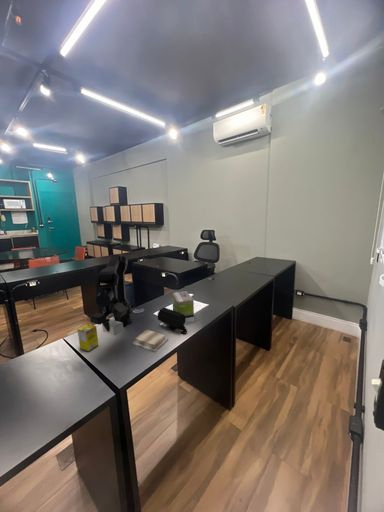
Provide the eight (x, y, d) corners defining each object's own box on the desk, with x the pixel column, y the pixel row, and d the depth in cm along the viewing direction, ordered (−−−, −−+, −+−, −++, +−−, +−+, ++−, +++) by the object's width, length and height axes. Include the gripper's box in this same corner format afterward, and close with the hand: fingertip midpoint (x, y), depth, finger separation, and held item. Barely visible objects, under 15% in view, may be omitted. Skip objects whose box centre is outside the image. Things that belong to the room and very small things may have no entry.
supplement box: (98, 345, 106) (96, 325, 103) (88, 352, 100) (85, 331, 98) (90, 342, 108) (87, 323, 106) (79, 349, 103) (77, 328, 101)
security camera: (181, 337, 112) (181, 319, 110) (157, 326, 123) (156, 310, 121) (190, 331, 117) (189, 314, 115) (165, 321, 128) (165, 306, 126)
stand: (132, 344, 106) (132, 338, 106) (146, 333, 116) (146, 328, 115) (155, 352, 100) (154, 346, 99) (168, 340, 109) (168, 334, 109)
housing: (103, 331, 101) (102, 323, 100) (111, 326, 105) (110, 319, 104) (115, 335, 97) (114, 327, 96) (123, 330, 101) (122, 322, 101)
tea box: (172, 314, 138) (171, 292, 135) (187, 311, 140) (187, 290, 138) (178, 325, 123) (177, 301, 121) (194, 322, 126) (194, 299, 123)
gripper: (105, 309, 86) (109, 343, 89) (137, 293, 102) (139, 323, 105) (87, 303, 91) (91, 337, 94) (120, 289, 107) (123, 318, 110)
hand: (113, 328), depth 101 cm, fingers closed on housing, 5 cm apart
